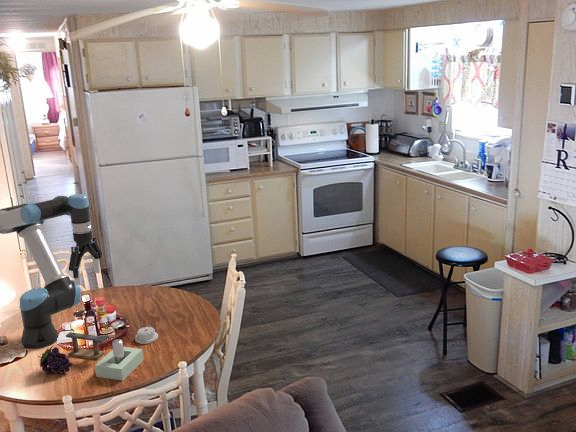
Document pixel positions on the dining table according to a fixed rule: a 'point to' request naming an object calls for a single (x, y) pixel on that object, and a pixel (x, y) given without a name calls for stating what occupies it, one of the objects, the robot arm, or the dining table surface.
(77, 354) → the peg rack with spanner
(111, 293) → the dining table surface
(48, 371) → the fruit
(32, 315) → the robot arm
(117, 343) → the grey upright peg
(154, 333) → the mechanical component
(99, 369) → the slot block
